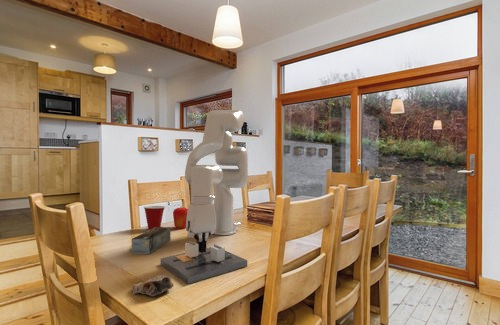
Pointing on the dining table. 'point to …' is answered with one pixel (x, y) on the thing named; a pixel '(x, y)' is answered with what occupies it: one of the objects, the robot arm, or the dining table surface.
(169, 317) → the dining table surface
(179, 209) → the apple
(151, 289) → the rock
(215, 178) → the robot arm
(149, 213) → the plastic cup
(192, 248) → the fader cream
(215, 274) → the console
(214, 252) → the white block
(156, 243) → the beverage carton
